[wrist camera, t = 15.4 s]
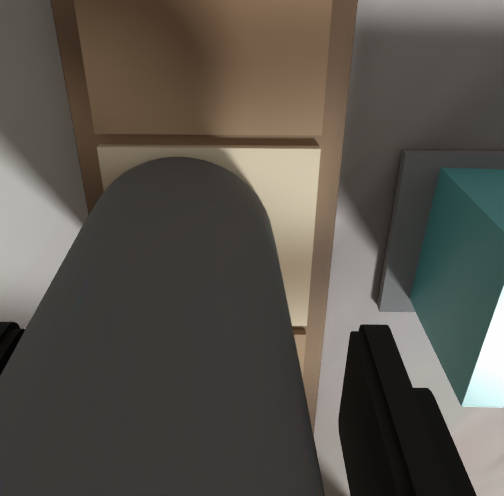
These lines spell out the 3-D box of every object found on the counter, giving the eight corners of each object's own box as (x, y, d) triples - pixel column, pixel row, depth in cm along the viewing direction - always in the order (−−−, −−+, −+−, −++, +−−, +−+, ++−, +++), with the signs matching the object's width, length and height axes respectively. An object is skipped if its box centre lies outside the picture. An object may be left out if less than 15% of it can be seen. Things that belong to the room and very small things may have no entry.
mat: (402, 149, 15) (406, 154, 15) (593, 151, 15) (601, 155, 15) (376, 305, 18) (379, 311, 18) (537, 306, 18) (542, 312, 18)
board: (27, -188, 11) (9, -201, 10) (371, -187, 11) (380, -198, 10) (135, 445, 22) (130, 463, 21) (309, 446, 22) (311, 464, 21)
